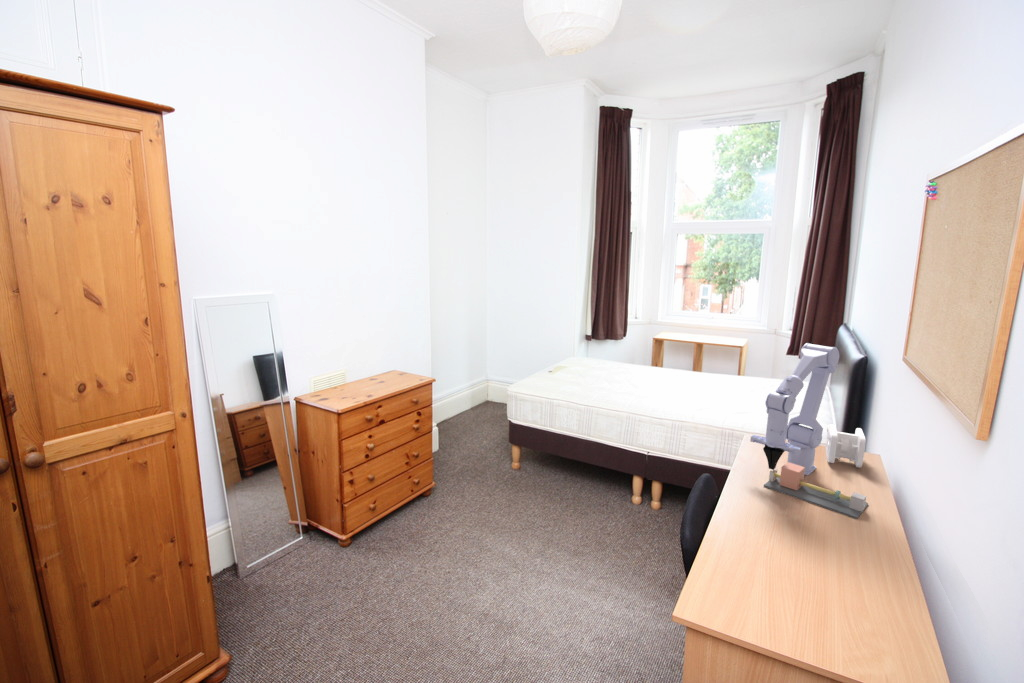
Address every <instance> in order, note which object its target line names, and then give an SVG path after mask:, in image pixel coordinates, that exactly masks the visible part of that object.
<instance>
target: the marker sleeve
mask: <svg viewBox="0 0 1024 683" xmlns="http://www.w3.org/2000/svg"><path fill="white" fill-rule="evenodd" d="M780 470H781V471H780V474H781V477H780V485H782V486H785V487H788V488H791V489H793V490H796V491H797V490H798V489H799V488H800V487H801V486H802V485H800V481H803V482H804V480H805V475H804V473H805V467H803V466H799V465H796V464H793V463H789V462H788V463H787V462H786V463H785V464H784V465H782V466H781V469H780Z"/></svg>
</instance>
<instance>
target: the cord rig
mask: <svg viewBox="0 0 1024 683" xmlns="http://www.w3.org/2000/svg"><path fill="white" fill-rule="evenodd" d="M768 476H769V477H768V481H767V482H766V483H764V484H763V488H767V489H770V490H772V489H773V490H772V491H776V492H779V493H782V494H784V495H788V496H789V497H793V498H796V499H797V500H798V499H799V500H800V501H801V500H802V501H803V502H806V503H810V504H812V505H815V506H819V507H822V508H824V509H827V510H831V511H833V512H836V513H838V514H841V515H844V516H848V517H850V518H852V519H855V520H858V519H859V517H860V516H861V515H862V514H863V512H864V511H865V510H866V508H867V507H868V506H869V503H868V501H867V496H866V495H865V494H861V493H858V492H856V491H854V492H853V493H852V494H851V495H850V496H848V495H845V494H842V493H841V490H836V491H834V490H830V489H827V488H824V487H821V486H817V485H815V484H813V483H808V482H805V481H804V480H803V481H800V485H802V486H801V487H800V488H799V489H798V490H797V491H796V490H793V489H791V488H788V487H785V486H782V485H780V477H781V473H778V469H776V468H775V469H774V470H770V471H769V475H768ZM866 501H867V502H866Z"/></svg>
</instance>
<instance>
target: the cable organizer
mask: <svg viewBox="0 0 1024 683" xmlns="http://www.w3.org/2000/svg"><path fill="white" fill-rule="evenodd" d="M826 432H827V435H826V441H825V447H824V448H825V455H826V460H827V462H828V463H831V464H834V463H835V461H836V459H837V460H839V461H840V460H841V458H843V459H848V460H849V462H854V465H855V468H862V467H863V464H864V457H865V450H866V443H867V440H866V436H865V433H864V431H863V429H862V428H861V427H856V428H855V431H854V433H848V432H842V431H837V426H836V425H835V424H828V425H827V428H826Z"/></svg>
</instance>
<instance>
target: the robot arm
mask: <svg viewBox="0 0 1024 683" xmlns="http://www.w3.org/2000/svg"><path fill="white" fill-rule="evenodd" d="M799 356H800V357H799V359H800V360H799V362H798V364H797V366H796V367H795V368H794V371H793V373H792V374H791V375H787V376H786V377H785V378H784V379H783V380H782V382H781V383H780V384H779V386H778V387H777V388H776V390H775V391H773V392H770V393H769V394H767V396H766V400H765V407H766V414H767V420H766V421H767V423H766V428H765V429H766V430H765V436H761V435H755V434H752V435H751V436H750V442H751V443H757V444H761V445H763V446H764V447H763V448H762V450H763V452H764V455H765V456H766V460H767V464H768V469H770V470H771V471H773V470H774V469H776V466H777V464H778V463H779V460H780V458H781V457H782V456H783V454H785V453H784V452H788V455H787V462H786V463H788V462H789V463H793V464H796V465H799V466H803V467H805V473H804V476H810V475H811V473H813V472H814V471H815V470H816V469H817V466H816V465H815V457H816V456H815V455H816V448H818V447H819V446H820V445H821V444H822V443H821V442H822V441H823V440H822V439H823V432H824V431H823V430H824V428H823V426H822V425H821V424H820V422H818V421H817V417H818V414H819V412H820V411H819V410H820V407H821V404H822V400H823V397H824V394H825V391H826V387H827V384H828V380H829V376H830V374H833V373H835V372H836V370H837V368H838V363H839V362H840V361H839V360H840V351H839V349H838V348H837V347H836V346H827V345H820V344H814V343H813V344H812V343H809V342H806V343H805V344H804V345H803V346H802V347H801V349H800V354H799ZM810 373H811V375H810ZM809 375H810V378H809V381H808V385H807V389H806V390H805V391H806V392H805V395H804V398H803V401H802V405H801V408H800V411H799V415H797V416H795V417H791V418H790V420H789V416H790V415H789V414H790V413H791V412H792V411H793V409H794V407H795V404H796V401H797V396H798V395H799V393H800V392H802V389H803V388H804V387H805V386H804V385H805V384H804V382H803V381H805V379H806V378H807V377H808V376H809ZM786 440H787V441H786Z"/></svg>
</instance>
